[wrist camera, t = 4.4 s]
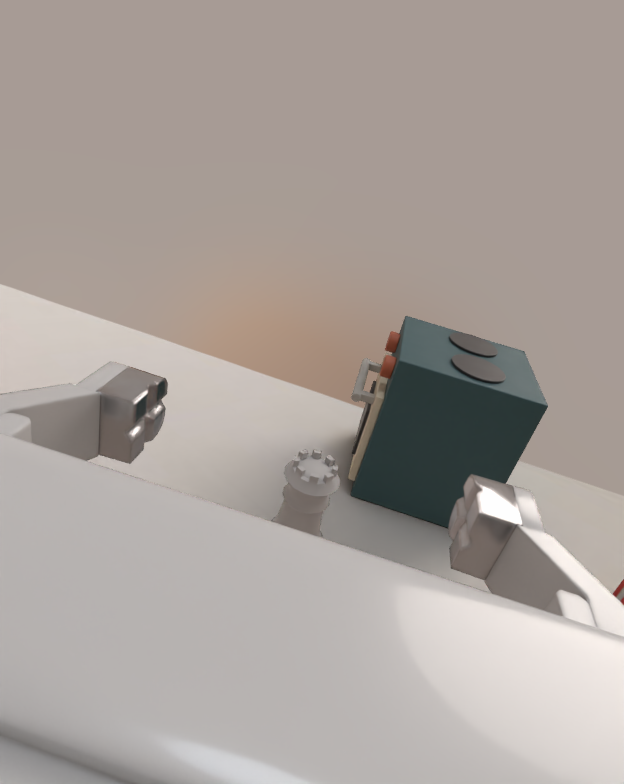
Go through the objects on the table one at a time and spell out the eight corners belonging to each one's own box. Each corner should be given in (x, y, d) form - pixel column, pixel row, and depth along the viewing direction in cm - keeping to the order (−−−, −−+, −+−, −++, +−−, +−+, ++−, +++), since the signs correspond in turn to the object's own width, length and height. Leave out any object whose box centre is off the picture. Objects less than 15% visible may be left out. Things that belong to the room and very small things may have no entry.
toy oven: (322, 486, 39) (367, 347, 33) (341, 425, 47) (380, 305, 41) (476, 537, 38) (550, 403, 32) (468, 465, 46) (525, 348, 40)
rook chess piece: (241, 542, 32) (264, 443, 28) (301, 528, 35) (329, 434, 31) (269, 599, 29) (299, 497, 25) (333, 579, 31) (370, 482, 28)
